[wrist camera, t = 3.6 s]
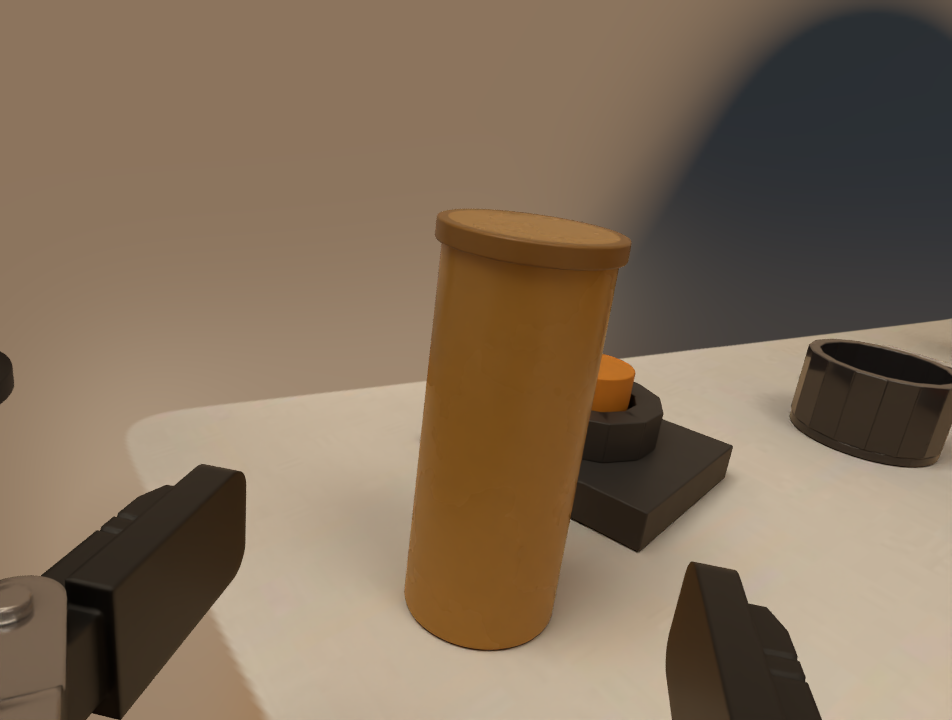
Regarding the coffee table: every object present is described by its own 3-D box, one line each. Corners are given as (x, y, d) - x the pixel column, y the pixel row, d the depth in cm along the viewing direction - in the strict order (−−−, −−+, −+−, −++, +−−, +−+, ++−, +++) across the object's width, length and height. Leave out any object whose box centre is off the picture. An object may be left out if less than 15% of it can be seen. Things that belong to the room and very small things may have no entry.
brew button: (533, 395, 31) (538, 359, 31) (574, 379, 34) (580, 345, 33) (603, 424, 29) (610, 385, 29) (641, 404, 32) (649, 368, 31)
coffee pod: (363, 592, 22) (395, 210, 18) (468, 531, 26) (513, 207, 22) (492, 685, 19) (563, 253, 15) (588, 600, 23) (664, 240, 19)
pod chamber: (772, 427, 40) (794, 353, 38) (809, 396, 45) (828, 331, 44) (928, 482, 35) (959, 400, 34) (946, 440, 41) (973, 369, 40)
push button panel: (424, 444, 32) (432, 374, 31) (534, 400, 39) (544, 341, 38) (638, 553, 26) (658, 470, 25) (725, 477, 33) (743, 409, 32)
